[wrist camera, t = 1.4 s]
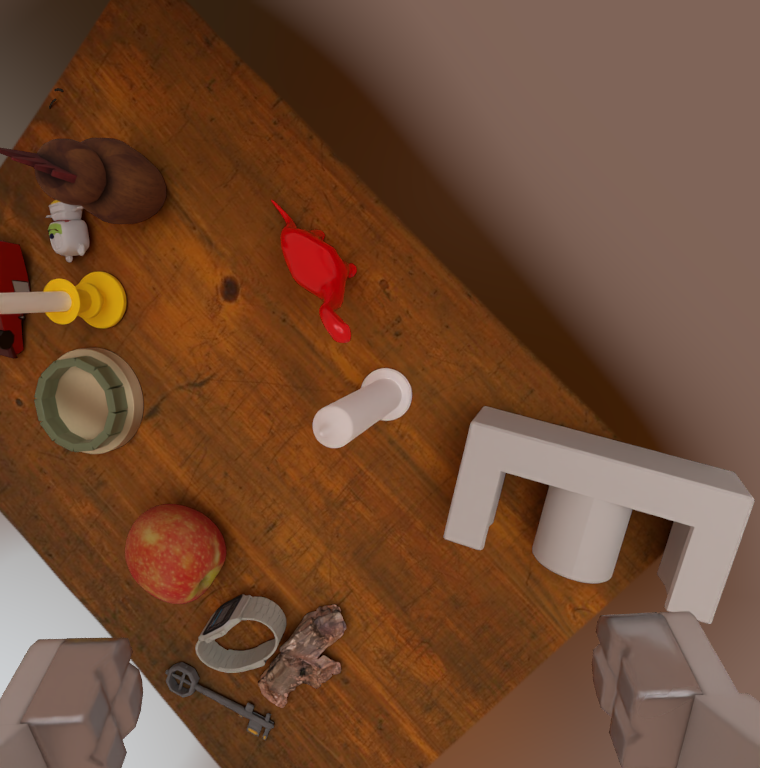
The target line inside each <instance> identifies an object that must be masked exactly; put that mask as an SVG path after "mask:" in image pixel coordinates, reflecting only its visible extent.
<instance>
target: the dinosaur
mask: <svg viewBox="0 0 760 768" xmlns="http://www.w3.org/2000/svg"><path fill="white" fill-rule="evenodd" d="M271 201H272V203H273V204H274V205H275V207H276V208H277V209H278V211H279V212H280V214H281V215H282V217H283V218H284V220H285V223H286V226H285V227H284V228H283V229H282V231H281V248H282V252H283V256H284V259H285V262H286V264H287V267H288V269H289V271H290V273H291V275H292V277H293V279H294V280H295V282H296V283H297V284H298V285H300V286H301V287H302V288H304V289H305V290H307V291H308V292H310V293H312V294H314V295H315V296H317V297H318V298H320V299H321V300H322V301H323V304H322V305H321V307H320V309H319V315H320V318H321V321H322V323H323V325H324V327H325V328H326V330H327V331H328V333H329V334H330V336H331V337H332V339H333V340H334V341H336V342H339V343H347V342H349V341H350V340H351V331H350V327H349V326H348V325H347V324H346V323H344V321H343V320H342V319H341V318H340V317H339V316H338V315H337V314H336V312H335V311H337V310H338V309H339V308H340V307H341V305H342V303H343V299H344V293H345V286H346V280H347V278H351V277H353V276H355V274H356V272H357V268H356V266H355V265H354V264H352V263H347V262H345V261H343V260H341V258H340V257H339V255H338V253H337V251H336V249H335V248H334V247H333V246H331V245H329V244H327V243H326V242H324V241H323V240H324V238H325V234H324V232H323V231H321V230H319V229H315V230H304V229H299V228H297V226H296V224H295V222H294V221H293V220H292V219H291V217H290V216H289V215H288V214H287V213H286V212H285V211H284V210H283V209H282V208H281V207H280V206H279V205H278V204H276V203H275V202H274V201H273V200H271Z"/></svg>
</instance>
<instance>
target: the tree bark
mask: <svg viewBox="0 0 760 768" xmlns="http://www.w3.org/2000/svg"><path fill="white" fill-rule="evenodd" d="M340 613H341V609H340V607H337V605H335V604H334V605H333V604H332V605H331V606H330V605H329V606H324V607H321V606H319V607H318V609H317V612H316V611H314V612H310V613H307V614H306V615H305V616H304V618H303V620H302V622H301V623H300V624H299V625H298V627H297V629H296V630H295V631H294V633H293V634H292V635H291V637H290V638H289V639H288V641H287V642H285V643H284V644H283V645H282V646H281V647H280V652H281V653H279V655H278V656H277V657H276V658H275V659H274V660H273V661H272V662H271V664H270V666H269V668H268V669H267V670H266V671H265V672H264V673H263V674H262V675H261V680H259V682H260V683H259V682H258V685H259V687H260V689H261V692H262V694H263V695H264V696H265V697H266V698H267V699H268V700H269V701H270V702H273V704H275V705H277V706H279V707H281V708H283V706H285V704H287V697H288V693H289V692H291V691H293V690H295V689H296V686H298V685H300V684H301V683H302V682H303V683H305V684H308V685H311V686H312V687H314V688H316V689H317V688H318V687H320V686H321V683H324V682H325V681H327V680H329V679H330V678H331V676H332V673H333V674H334V675H336V674H338V673H341V666H340V663H339V662H334V661H333V660H330V659H329V658H327V657H326V656H324V655H323V656H322V657H320V658H319V659H317V658H318V657H319V655H320V654H321V653H322V652H323V651H324V650H325V649H326V648H327V647H328V646H330V645H331V644H333V643H334V642H335V641H337V640H338V639H339V638H340V637H341V636H342V635H343V633H344V632H343V631H345V630H346V624H345V622H344V621H343V617H342V615H341V614H340Z"/></svg>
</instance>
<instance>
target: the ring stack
mask: <svg viewBox="0 0 760 768" xmlns="http://www.w3.org/2000/svg"><path fill="white" fill-rule="evenodd" d="M34 397H35V398H37V399H34V401H35V406H36V411H37V415H38V420H39V421H42V422H41V423H40V424H41V426H42V427H43V428H44V430H45V431H46V433H47V434H48V435H49V437H50V438H51V440H52V441H54V440H55V443H56V444H58V445H60V446H62V447H64V448H66V449H68V450H70V451H74V452H84V453H89V454H101V453H106V452H108V451H111V450H114V449H117V448H119V447H121V446H123V445H125V444H126V443H127V442H129V440H130V439H131V438H132V437H133V436H134V435H135V433H136V432H137V430H138V428H139V426H140V423H141V420H142V416H143V394H142V390H141V386H140V384H139V381H138V379H137V377H136V375H135V373H134V372H133V370H132V369H131V367H130V366H129V365H128V364H127V363H126V362H125V361H124V360H123V359H122V358H120V357H119V356H118V355H116V354H114V353H113V352H111V351H108V350H106V349H101V348H84V349H77V350H73V351H70V352H68V353H66V354H64V355H63V356H61V357H60V358H59V359H58V360H56V361H54V362H53V363H52V364H51V365H50V366H49V367H48V368H47V369H46V370H45V371H44V372H43V373H42V374H41V377H39V380H38V384H37V388H36V392H35V396H34Z"/></svg>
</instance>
